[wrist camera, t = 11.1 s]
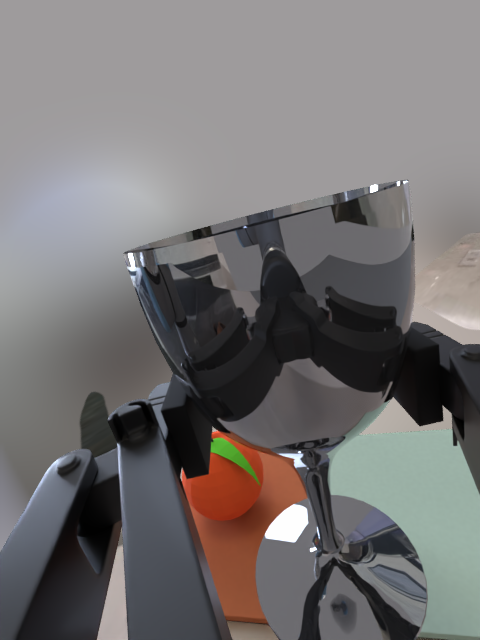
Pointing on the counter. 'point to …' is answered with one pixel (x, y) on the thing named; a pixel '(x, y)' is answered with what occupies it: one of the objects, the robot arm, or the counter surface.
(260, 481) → the clementine
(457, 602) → the glass mat
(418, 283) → the counter surface
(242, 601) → the fruit mat
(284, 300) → the wine glass
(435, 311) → the counter surface
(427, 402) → the robot arm
